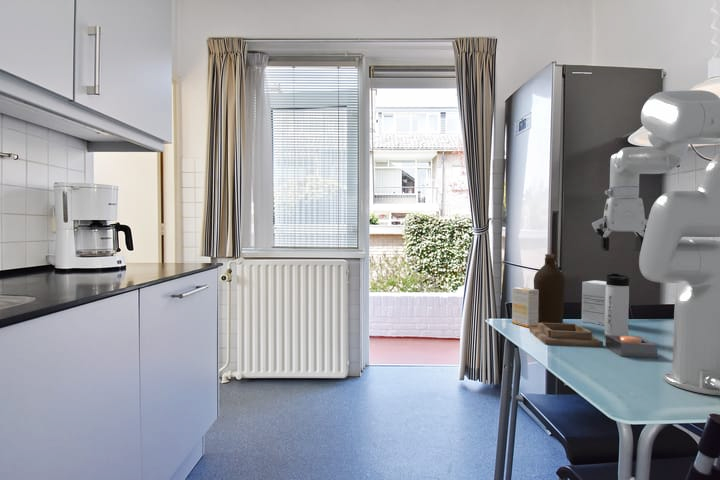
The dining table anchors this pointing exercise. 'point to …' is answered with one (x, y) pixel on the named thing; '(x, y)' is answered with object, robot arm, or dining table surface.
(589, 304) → the supplement box
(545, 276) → the olive oil
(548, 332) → the tan flat square tray
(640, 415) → the dining table surface
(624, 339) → the button
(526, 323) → the supplement box
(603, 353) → the dining table surface
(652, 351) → the button housing
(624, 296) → the travel mug
